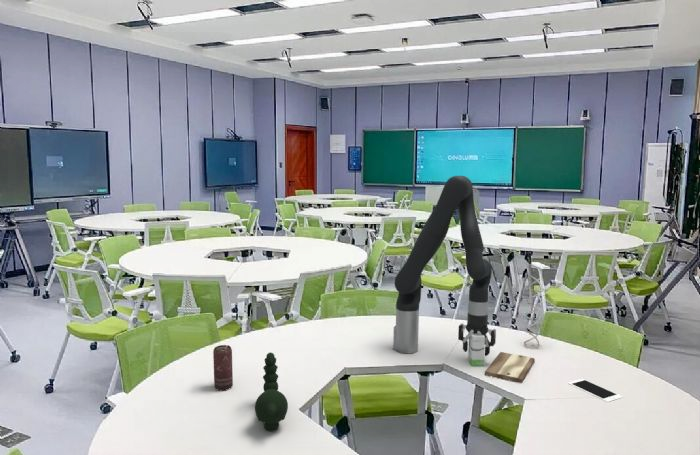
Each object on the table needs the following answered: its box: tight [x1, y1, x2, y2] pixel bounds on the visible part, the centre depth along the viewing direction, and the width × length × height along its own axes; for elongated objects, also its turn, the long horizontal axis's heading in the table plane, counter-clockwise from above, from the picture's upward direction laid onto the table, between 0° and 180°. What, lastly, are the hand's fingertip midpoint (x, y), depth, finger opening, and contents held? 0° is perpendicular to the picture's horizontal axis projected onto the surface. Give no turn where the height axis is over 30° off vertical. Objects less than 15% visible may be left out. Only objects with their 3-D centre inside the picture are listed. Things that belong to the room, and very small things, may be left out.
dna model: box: [523, 274, 544, 349], centre depth 218 cm, size 7×6×30 cm
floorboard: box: [484, 351, 536, 384], centre depth 198 cm, size 13×22×2 cm, turn 150°
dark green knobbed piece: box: [254, 352, 289, 432], centre depth 158 cm, size 9×19×25 cm
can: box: [212, 344, 234, 391], centre depth 179 cm, size 6×6×14 cm
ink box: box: [467, 333, 486, 367], centre depth 203 cm, size 9×5×12 cm, turn 176°
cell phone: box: [567, 378, 624, 403], centre depth 180 cm, size 8×16×1 cm, turn 27°
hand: (476, 353), depth 203 cm, fingers open, 7 cm apart
